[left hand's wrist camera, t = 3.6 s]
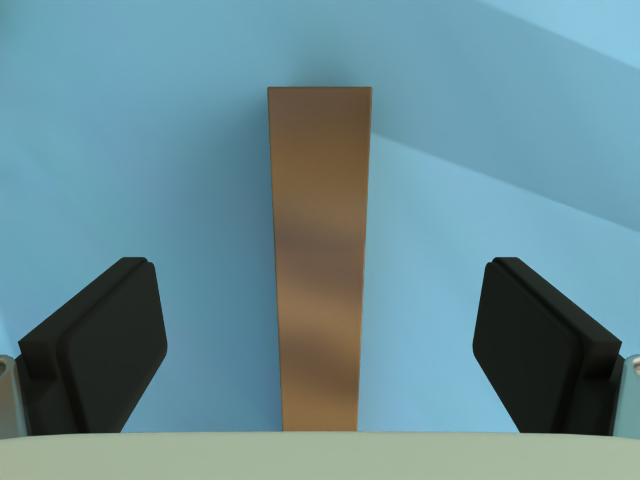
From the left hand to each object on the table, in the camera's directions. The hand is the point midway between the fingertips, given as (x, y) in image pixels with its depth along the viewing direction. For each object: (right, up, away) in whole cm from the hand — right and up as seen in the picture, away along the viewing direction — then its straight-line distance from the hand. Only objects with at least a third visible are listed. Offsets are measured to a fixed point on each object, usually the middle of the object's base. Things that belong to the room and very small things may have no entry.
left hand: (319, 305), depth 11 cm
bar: (0, -24, +28) cm, 37 cm away
